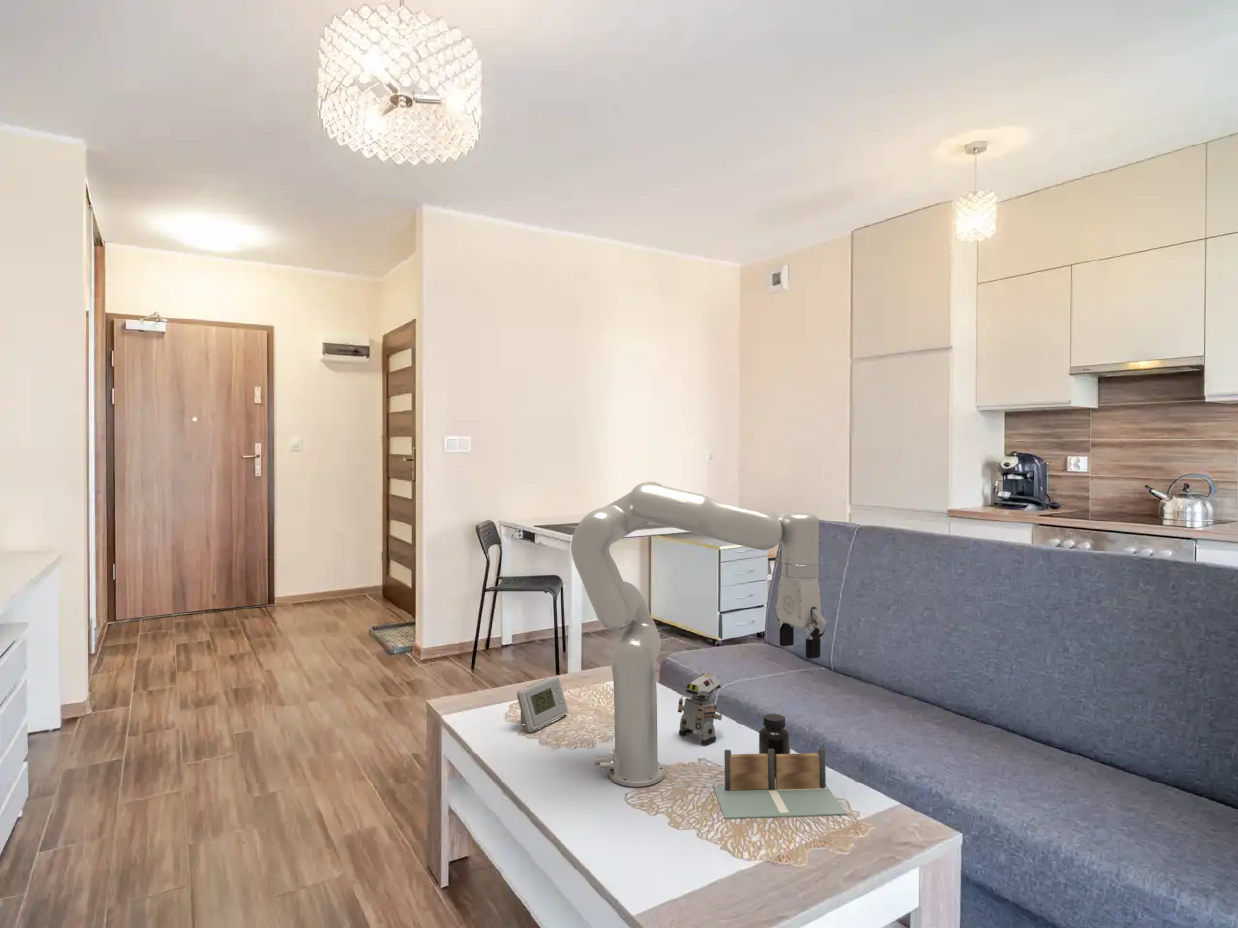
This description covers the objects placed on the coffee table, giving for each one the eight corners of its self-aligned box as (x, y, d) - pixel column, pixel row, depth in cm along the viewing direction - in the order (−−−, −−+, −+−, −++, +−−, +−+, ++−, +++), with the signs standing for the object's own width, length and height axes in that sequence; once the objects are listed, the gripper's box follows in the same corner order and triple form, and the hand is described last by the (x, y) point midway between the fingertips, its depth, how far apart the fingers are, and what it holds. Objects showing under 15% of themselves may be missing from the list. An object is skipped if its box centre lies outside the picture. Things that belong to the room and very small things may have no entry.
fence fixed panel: (777, 789, 145) (777, 751, 145) (775, 786, 146) (775, 749, 146) (826, 788, 145) (826, 750, 145) (824, 785, 147) (823, 747, 147)
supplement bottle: (791, 778, 151) (790, 723, 150) (759, 776, 152) (758, 721, 152) (789, 765, 157) (789, 712, 157) (759, 762, 159) (758, 710, 159)
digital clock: (528, 736, 176) (527, 694, 176) (507, 726, 182) (507, 686, 182) (576, 718, 187) (576, 679, 187) (555, 710, 194) (555, 672, 194)
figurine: (731, 735, 174) (731, 676, 174) (700, 748, 167) (699, 686, 167) (705, 725, 181) (704, 668, 181) (673, 737, 174) (673, 677, 174)
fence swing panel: (725, 790, 144) (725, 752, 144) (724, 787, 146) (723, 749, 146) (775, 789, 145) (775, 751, 145) (773, 785, 146) (773, 748, 146)
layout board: (724, 818, 134) (724, 817, 134) (713, 787, 147) (713, 785, 147) (846, 814, 135) (846, 813, 135) (824, 783, 148) (824, 782, 148)
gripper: (763, 565, 154) (762, 642, 154) (808, 578, 137) (808, 664, 137) (792, 564, 156) (791, 639, 156) (840, 576, 140) (839, 661, 140)
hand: (799, 651), depth 147 cm, fingers open, 9 cm apart
